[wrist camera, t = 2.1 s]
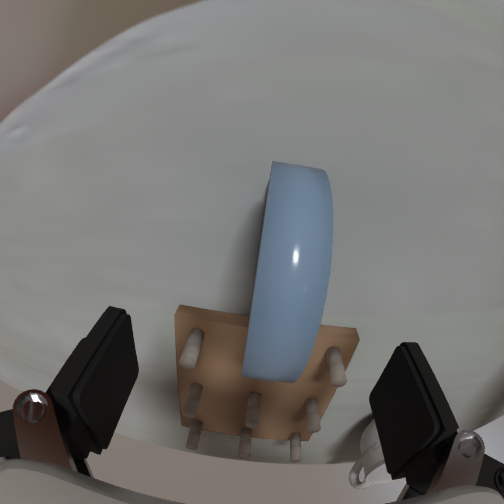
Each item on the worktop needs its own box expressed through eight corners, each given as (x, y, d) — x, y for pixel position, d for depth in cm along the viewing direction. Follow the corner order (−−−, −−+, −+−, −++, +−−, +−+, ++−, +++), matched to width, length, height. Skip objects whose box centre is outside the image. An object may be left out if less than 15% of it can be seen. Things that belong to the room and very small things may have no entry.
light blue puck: (309, 156, 18) (354, 200, 8) (282, 299, 23) (283, 426, 13) (273, 150, 18) (271, 186, 8) (252, 295, 23) (234, 420, 13)
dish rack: (356, 328, 24) (368, 369, 19) (307, 431, 31) (309, 465, 26) (179, 304, 24) (160, 344, 19) (184, 415, 31) (175, 449, 27)
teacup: (419, 376, 26) (441, 434, 19) (444, 407, 29) (462, 453, 22) (318, 431, 31) (321, 486, 24) (360, 453, 34) (366, 498, 26)
